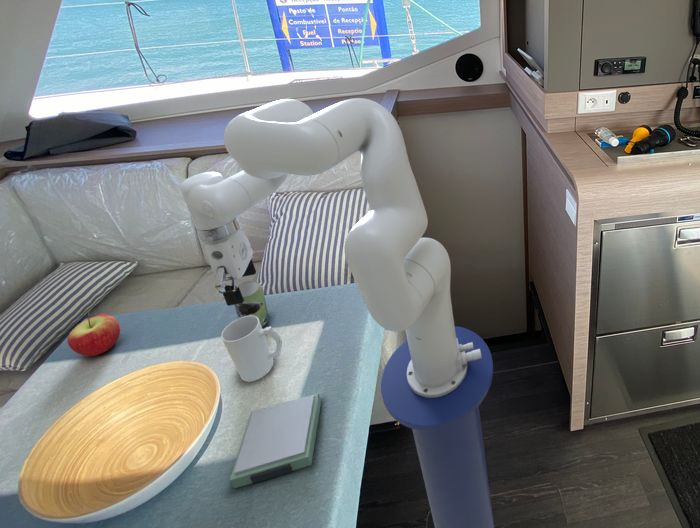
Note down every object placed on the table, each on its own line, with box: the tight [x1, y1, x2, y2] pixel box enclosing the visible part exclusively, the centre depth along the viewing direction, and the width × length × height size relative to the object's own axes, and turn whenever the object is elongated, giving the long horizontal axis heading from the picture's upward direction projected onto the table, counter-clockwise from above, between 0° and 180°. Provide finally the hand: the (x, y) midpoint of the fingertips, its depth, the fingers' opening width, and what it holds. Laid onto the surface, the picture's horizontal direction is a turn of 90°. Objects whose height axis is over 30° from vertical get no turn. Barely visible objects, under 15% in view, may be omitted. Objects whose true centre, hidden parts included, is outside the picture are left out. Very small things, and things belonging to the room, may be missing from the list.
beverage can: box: [234, 280, 269, 328], centre depth 99 cm, size 6×7×12 cm
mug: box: [220, 315, 283, 383], centre depth 87 cm, size 10×7×12 cm, turn 98°
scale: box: [229, 393, 322, 489], centre depth 75 cm, size 12×12×3 cm
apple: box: [67, 310, 121, 357], centre depth 95 cm, size 8×8×10 cm
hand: (242, 288), depth 97 cm, fingers open, 9 cm apart
